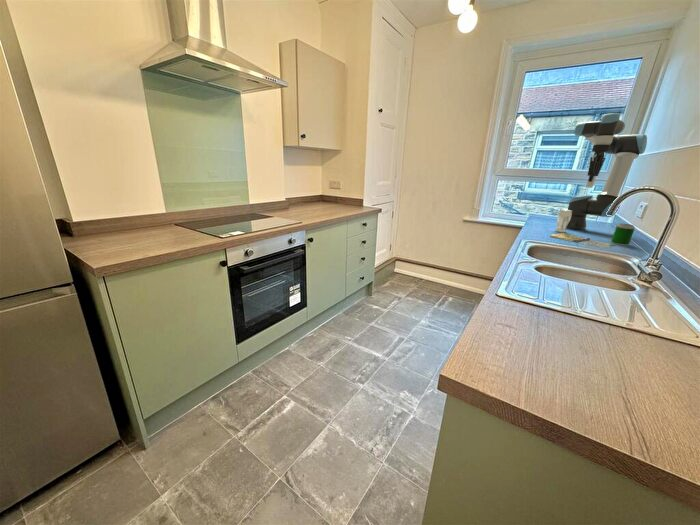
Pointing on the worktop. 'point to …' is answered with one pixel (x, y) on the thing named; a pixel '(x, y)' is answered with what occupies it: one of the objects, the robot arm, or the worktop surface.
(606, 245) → the base leaf
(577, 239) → the swing leaf
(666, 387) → the worktop surface
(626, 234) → the soda can
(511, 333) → the worktop surface
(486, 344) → the worktop surface
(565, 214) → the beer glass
